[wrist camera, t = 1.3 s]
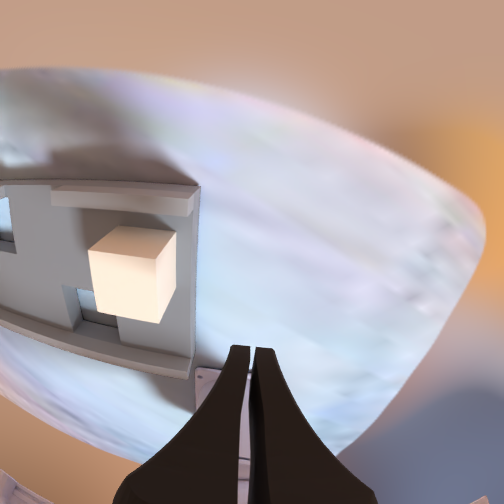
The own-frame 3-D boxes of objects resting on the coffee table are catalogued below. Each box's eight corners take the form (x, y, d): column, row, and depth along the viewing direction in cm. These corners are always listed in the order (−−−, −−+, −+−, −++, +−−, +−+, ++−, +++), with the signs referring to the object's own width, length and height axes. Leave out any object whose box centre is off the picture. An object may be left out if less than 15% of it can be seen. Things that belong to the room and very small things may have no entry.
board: (195, 350, 24) (185, 389, 20) (-16, 295, 23) (-37, 314, 19) (200, 186, 18) (183, 203, 14) (-39, 182, 18) (-68, 194, 14)
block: (176, 287, 19) (159, 323, 15) (122, 279, 19) (97, 311, 15) (176, 231, 17) (155, 259, 14) (118, 225, 17) (87, 249, 14)
